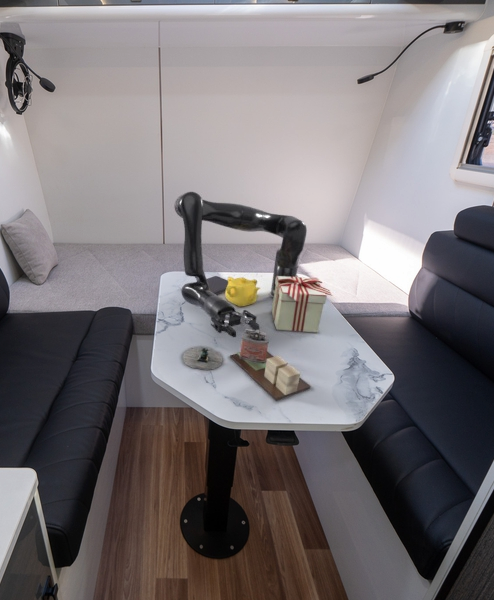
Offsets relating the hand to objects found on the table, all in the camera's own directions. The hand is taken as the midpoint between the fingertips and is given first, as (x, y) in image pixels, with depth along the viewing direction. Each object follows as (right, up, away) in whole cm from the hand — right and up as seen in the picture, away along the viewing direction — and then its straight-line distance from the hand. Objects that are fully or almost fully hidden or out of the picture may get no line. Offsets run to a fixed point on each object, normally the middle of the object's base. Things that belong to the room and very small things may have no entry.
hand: (246, 331), depth 114 cm
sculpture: (-13, -9, +1) cm, 16 cm away
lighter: (+2, -9, 0) cm, 9 cm away
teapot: (+5, +9, +37) cm, 39 cm away
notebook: (-7, +14, +49) cm, 52 cm away
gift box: (+22, +1, +22) cm, 31 cm away
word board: (+5, -11, -5) cm, 13 cm away
